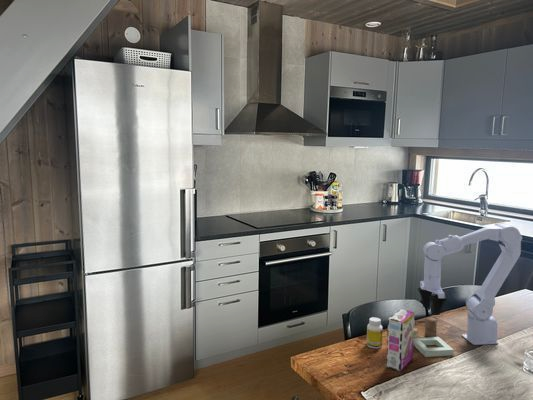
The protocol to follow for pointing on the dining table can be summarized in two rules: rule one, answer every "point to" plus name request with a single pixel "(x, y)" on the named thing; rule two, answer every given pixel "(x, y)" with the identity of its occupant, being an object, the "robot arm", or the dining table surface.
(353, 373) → the dining table surface
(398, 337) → the candy bar box
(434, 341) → the hole board
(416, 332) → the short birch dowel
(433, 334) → the brown wooden peg
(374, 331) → the supplement bottle
